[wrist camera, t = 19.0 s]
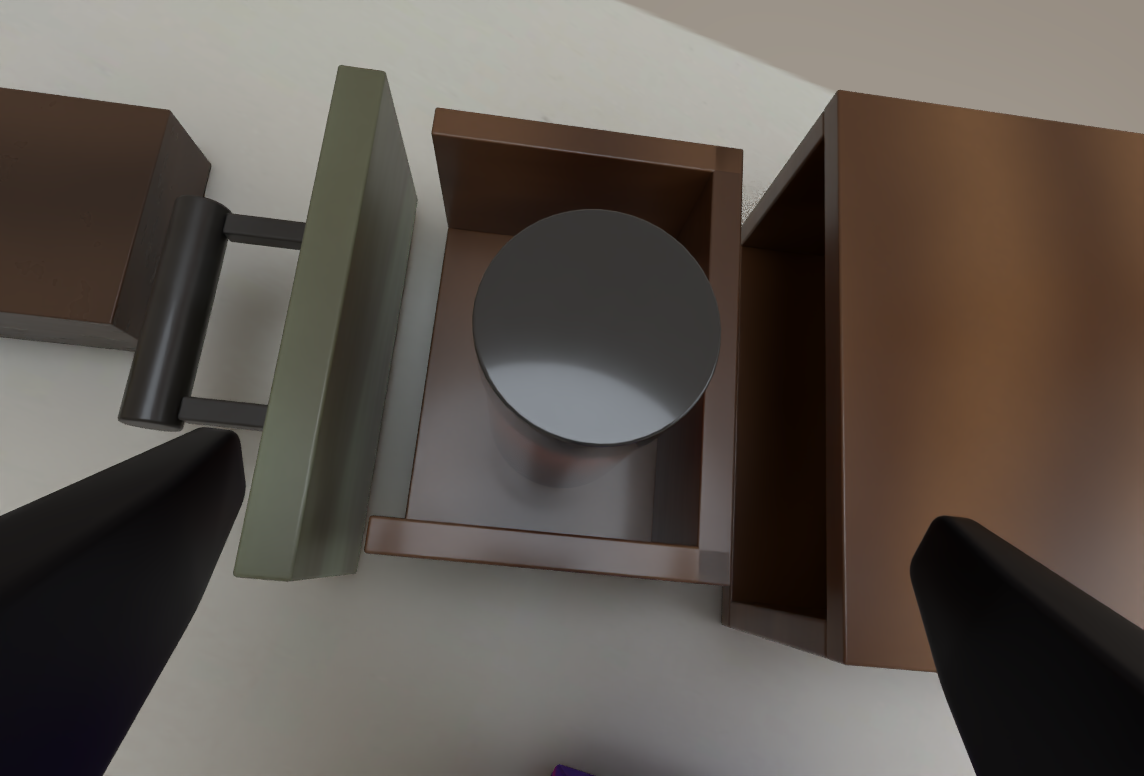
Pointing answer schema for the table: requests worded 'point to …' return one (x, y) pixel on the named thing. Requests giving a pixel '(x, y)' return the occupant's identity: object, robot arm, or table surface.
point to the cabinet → (935, 367)
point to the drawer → (446, 352)
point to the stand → (86, 214)
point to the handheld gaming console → (567, 771)
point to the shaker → (591, 342)
